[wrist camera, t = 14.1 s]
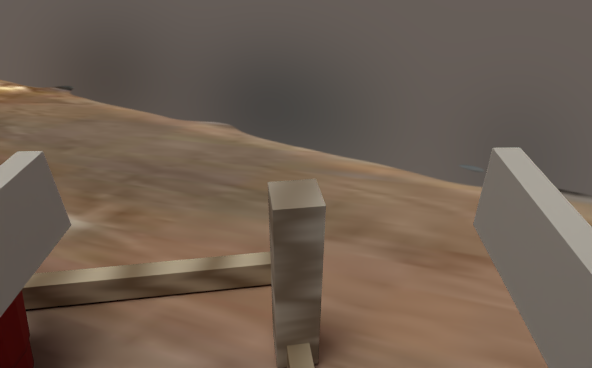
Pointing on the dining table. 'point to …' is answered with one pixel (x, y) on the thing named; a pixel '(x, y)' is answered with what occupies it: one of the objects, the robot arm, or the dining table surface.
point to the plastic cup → (15, 336)
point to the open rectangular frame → (226, 274)
